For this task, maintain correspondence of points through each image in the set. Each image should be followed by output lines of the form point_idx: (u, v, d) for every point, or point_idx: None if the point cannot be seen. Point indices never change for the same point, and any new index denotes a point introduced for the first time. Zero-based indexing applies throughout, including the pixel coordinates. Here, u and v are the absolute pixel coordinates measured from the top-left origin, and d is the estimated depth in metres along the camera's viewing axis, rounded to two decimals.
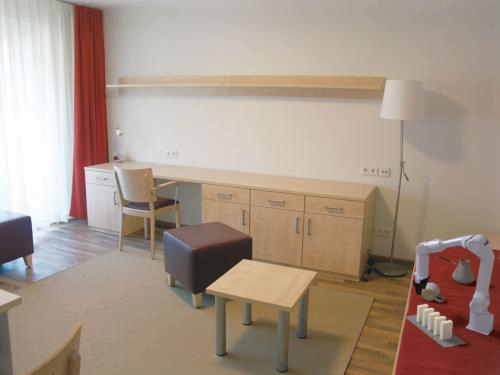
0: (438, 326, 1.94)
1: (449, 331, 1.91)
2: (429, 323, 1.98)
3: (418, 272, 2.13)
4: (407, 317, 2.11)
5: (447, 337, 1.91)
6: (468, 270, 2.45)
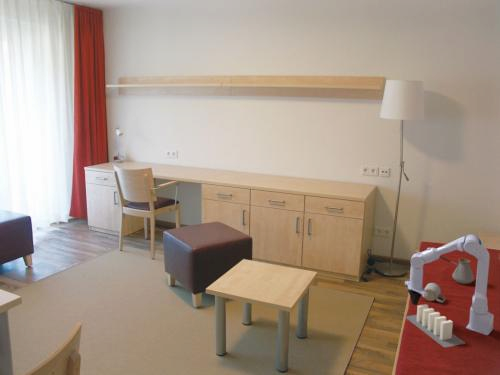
0: (438, 326, 1.94)
1: (449, 331, 1.91)
2: (429, 323, 1.98)
3: (417, 285, 2.07)
4: (407, 317, 2.11)
5: (447, 337, 1.91)
6: (468, 270, 2.45)
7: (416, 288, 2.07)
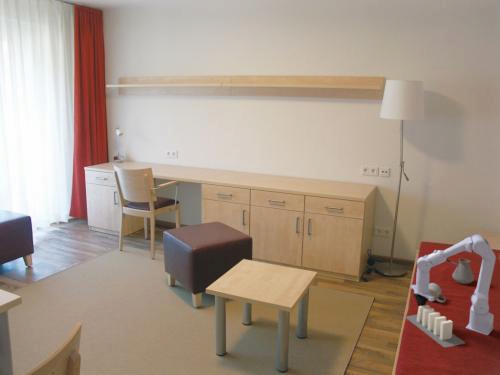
0: (438, 326, 1.94)
1: (449, 331, 1.91)
2: (429, 323, 1.98)
3: (424, 290, 2.02)
4: (407, 317, 2.11)
5: (447, 337, 1.91)
6: (468, 270, 2.45)
7: (422, 292, 2.03)
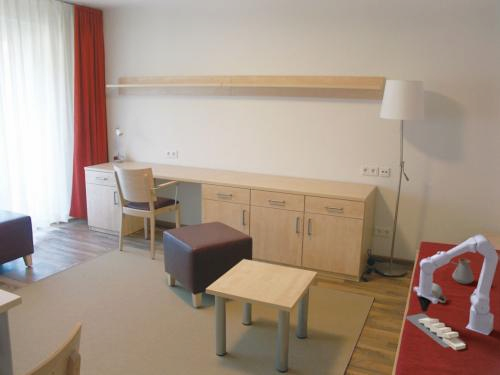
0: (445, 336, 1.90)
1: None
2: (435, 331, 1.95)
3: (427, 292, 2.00)
4: (407, 317, 2.11)
5: None
6: (468, 270, 2.45)
7: (426, 294, 2.00)
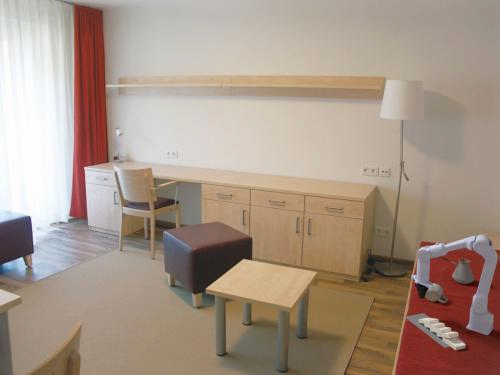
0: (445, 336, 1.90)
1: None
2: (435, 331, 1.95)
3: (424, 279, 2.06)
4: (407, 317, 2.11)
5: None
6: (468, 270, 2.45)
7: (423, 282, 2.06)
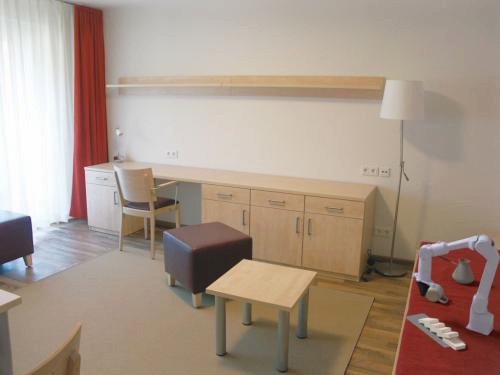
0: (445, 336, 1.90)
1: None
2: (435, 331, 1.95)
3: (426, 277, 2.06)
4: (407, 317, 2.11)
5: None
6: (468, 270, 2.45)
7: (424, 279, 2.06)
